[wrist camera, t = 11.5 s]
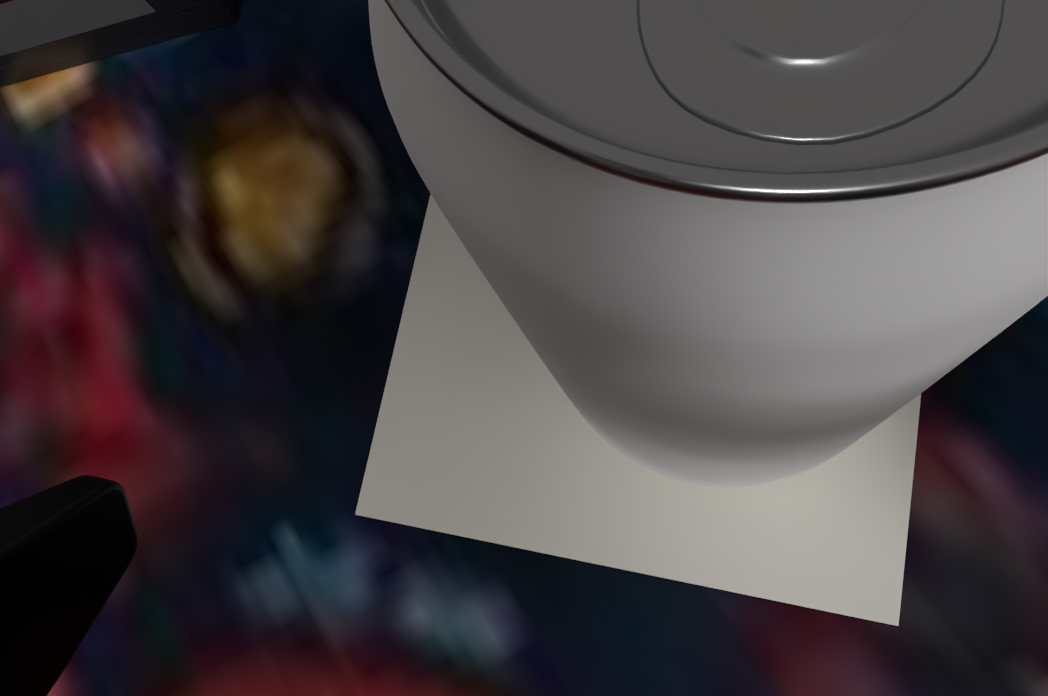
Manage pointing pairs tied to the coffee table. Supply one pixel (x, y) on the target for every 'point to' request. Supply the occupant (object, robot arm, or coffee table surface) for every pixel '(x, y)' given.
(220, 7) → the dark grey square frame
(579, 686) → the coffee table surface
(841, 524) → the pad
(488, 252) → the can
